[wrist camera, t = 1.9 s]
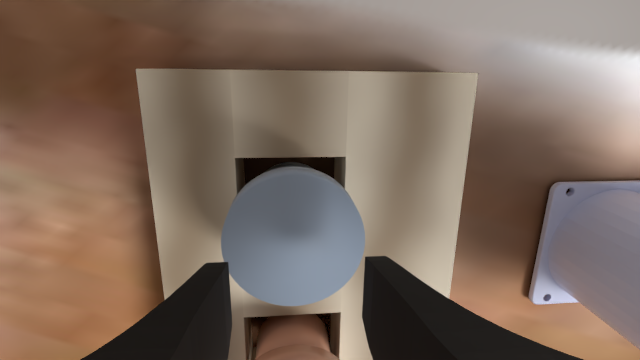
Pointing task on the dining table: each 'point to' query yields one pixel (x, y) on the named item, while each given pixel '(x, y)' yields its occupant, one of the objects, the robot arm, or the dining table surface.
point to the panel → (309, 141)
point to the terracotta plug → (293, 339)
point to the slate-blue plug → (292, 236)
